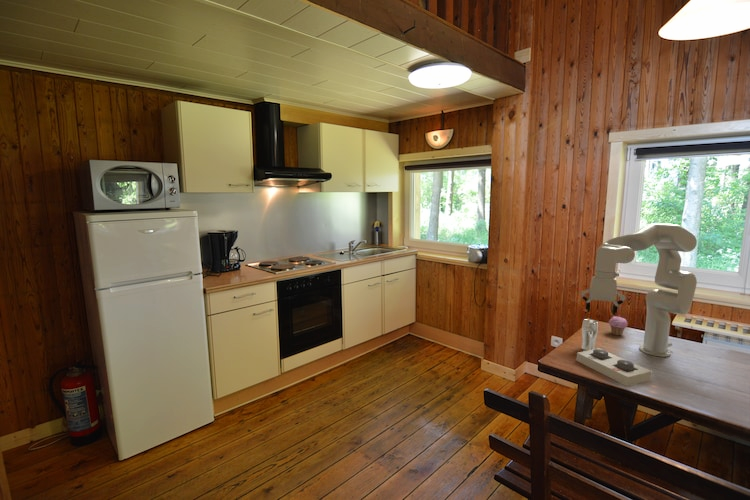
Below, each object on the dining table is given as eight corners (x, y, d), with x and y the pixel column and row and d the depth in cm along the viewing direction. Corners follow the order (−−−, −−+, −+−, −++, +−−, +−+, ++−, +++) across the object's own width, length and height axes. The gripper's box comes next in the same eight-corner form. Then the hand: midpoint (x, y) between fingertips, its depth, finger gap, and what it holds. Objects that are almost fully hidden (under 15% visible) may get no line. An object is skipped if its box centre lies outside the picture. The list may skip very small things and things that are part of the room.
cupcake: (608, 330, 216) (610, 313, 214) (626, 333, 211) (628, 316, 209) (607, 335, 209) (608, 317, 207) (626, 338, 204) (627, 320, 202)
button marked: (623, 365, 167) (623, 358, 166) (636, 371, 161) (637, 364, 161) (613, 367, 165) (614, 361, 164) (626, 373, 159) (627, 367, 159)
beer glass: (598, 352, 187) (600, 323, 184) (582, 351, 188) (585, 323, 186) (593, 346, 194) (595, 319, 191) (578, 345, 195) (580, 318, 192)
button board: (598, 355, 183) (599, 347, 183) (650, 379, 160) (651, 370, 159) (576, 360, 179) (577, 352, 178) (627, 386, 155) (628, 376, 155)
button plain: (599, 354, 178) (599, 348, 178) (610, 359, 173) (611, 353, 172) (589, 356, 176) (590, 350, 176) (601, 361, 171) (601, 355, 170)
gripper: (626, 275, 163) (622, 312, 166) (581, 271, 171) (578, 307, 174) (629, 278, 157) (625, 318, 159) (582, 274, 164) (579, 312, 167)
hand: (600, 312), depth 167 cm, fingers open, 9 cm apart
